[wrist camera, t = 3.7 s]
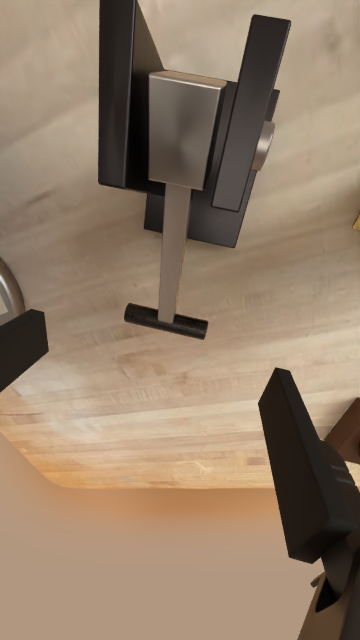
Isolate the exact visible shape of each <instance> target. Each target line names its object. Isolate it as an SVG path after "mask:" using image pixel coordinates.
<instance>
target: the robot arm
mask: <svg viewBox="0 0 360 640" xmlns="http://www.w3.org/2000/svg"><path fill="white" fill-rule="evenodd" d="M48 351H49V349H48V341H47V332H46V324H45V315H44V312H42V311H38V310H34V309H30V310H29V311H27V312H25V307H24V301H23V297H22V294H21V291H20V289H19V286H18V284H17V282H16V280H15V278H14V276H13V275H12V273H11V272H10V270H9V269H8V267H7V266H6V264H5V263H4V262H3V261H2V259H1V258H0V392H2V391H3V390H4V389H5V388H6V387H7V386H9V385H10V384H11V383H12V382H13V381H14V380H16V379H17V378H18V377H19V376H20V375H21V374H23V373H24V372H25V371H26V370H27V369H28V368H30V367H31V366H32V365H33V364H34V363H35V362H37V361H38V360H39V359H40V358H41V357H42V356H44V355H45V354H46V353H47V352H48ZM258 406H259V411H260V416H261V421H262V426H263V431H264V436H265V441H266V445H267V450H268V455H269V460H270V465H271V470H272V475H273V480H274V485H275V490H276V495H277V500H278V505H279V510H280V515H281V520H282V525H283V530H284V535H285V540H286V545H287V550H288V555H289V557H290V558H292V559H296V560H299V561H303V562H307V563H310V564H313V563H314V562H315V561H317V560H318V559H319V558H320V557H321V559H322V562H323V566H324V569H325V572H323V573H322V574H320V575H319V576H318V577H316V578H315V579H314V580H313V581H312V582H311V586H312V587H315V586H317V585H318V586H317V588H316V591H315V594H314V597H313V600H312V602H311V605H310V607H309V610H308V613H307V615H306V618H305V621H304V624H303V626H302V629H301V631H300V634H299V637H298V639H297V640H360V492H359V490H358V488H357V486H355V482H354V480H353V478H352V476H351V474H350V473H349V470H348V468H347V466H346V464H345V462H344V459H343V457H342V456H341V455H340V453H339V452H338V451H337V450H336V448H335V447H334V446H333V445H332V444H331V443H330V442H326V441H322V440H320V439H319V437H318V435H317V432H316V430H315V428H314V425H313V423H312V421H311V418H310V416H309V414H308V412H307V409H306V407H305V405H304V402H303V400H302V398H301V395H300V393H299V391H298V388H297V386H296V384H295V382H294V379H293V377H292V375H291V372H290V371H289V370H285V369H280V368H276V367H275V369H274V371H273V374H272V376H271V378H270V380H269V382H268V384H267V386H266V388H265V390H264V392H263V394H262V396H261V398H260V400H259V402H258Z"/></svg>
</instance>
